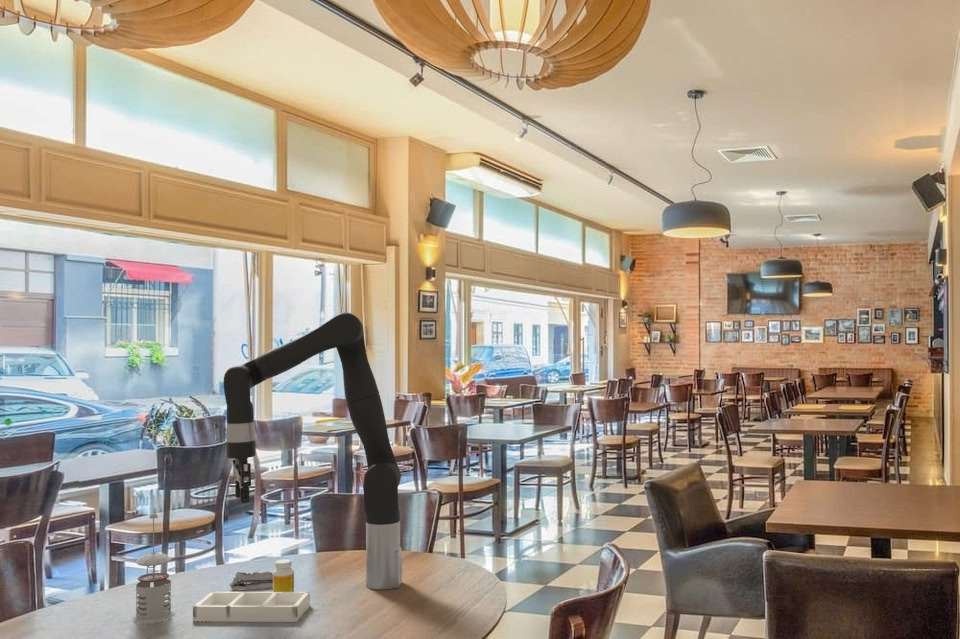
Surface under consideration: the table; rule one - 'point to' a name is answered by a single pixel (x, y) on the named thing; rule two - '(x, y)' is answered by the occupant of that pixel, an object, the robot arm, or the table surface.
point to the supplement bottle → (283, 576)
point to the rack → (251, 607)
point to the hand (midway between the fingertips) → (242, 499)
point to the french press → (153, 589)
